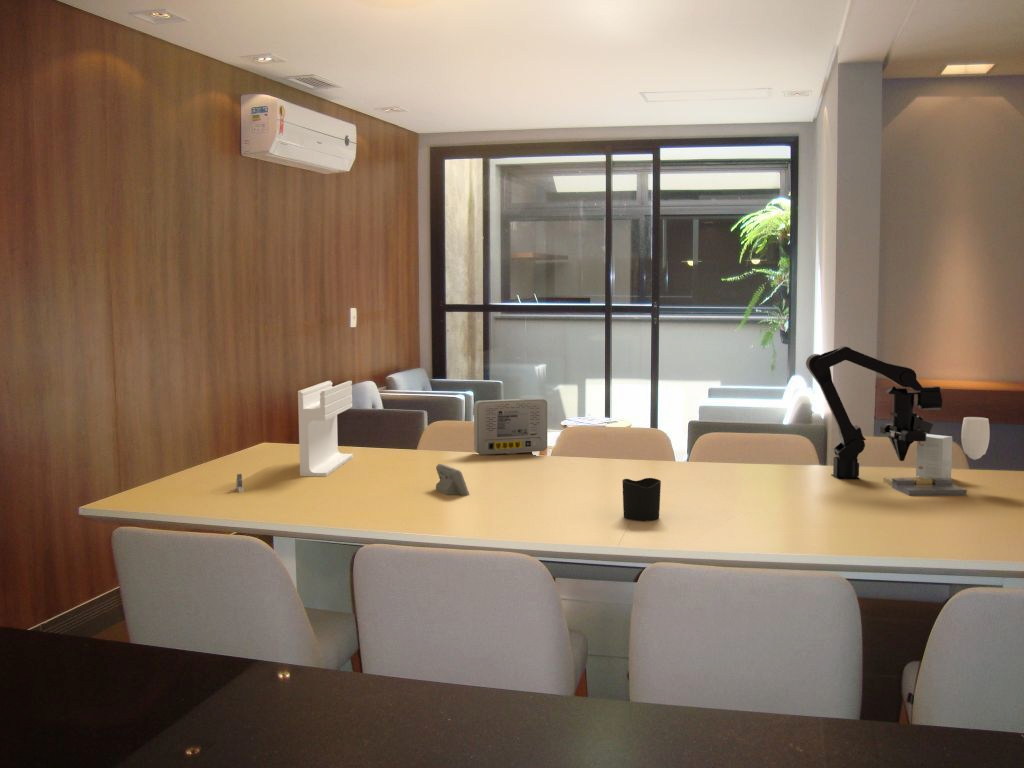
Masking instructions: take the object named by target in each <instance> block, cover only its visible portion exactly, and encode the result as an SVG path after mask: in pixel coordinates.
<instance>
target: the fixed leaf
mask: <svg viewBox="0 0 1024 768" xmlns="http://www.w3.org/2000/svg"><path fill="white" fill-rule="evenodd" d="M891 478H892V486H891V488H893V489H894V490H895V491H899V492H900V493H903V494H905V495H907V496H957V497H958V496H959V497H960V496H967V491H968V490H967V489H966V488H963V487H961V486H958V485H956V484H954V483H953V482H954V481H953V480H954V479H952V478H950V479H949V478H930V479H931V480H932V484H916V485H914V480H912V479H910V478H908V477H891Z"/></svg>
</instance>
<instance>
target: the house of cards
mask: <svg viewBox="0 0 1024 768" xmlns="http://www.w3.org/2000/svg"><path fill="white" fill-rule="evenodd" d="M235 489H236V491H237V492H238V493H244V485H243V474H242V473H237V474H236V486H235ZM230 492H234V490H230Z"/></svg>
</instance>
